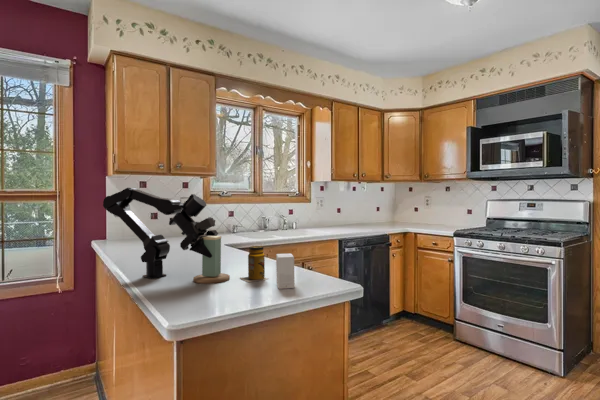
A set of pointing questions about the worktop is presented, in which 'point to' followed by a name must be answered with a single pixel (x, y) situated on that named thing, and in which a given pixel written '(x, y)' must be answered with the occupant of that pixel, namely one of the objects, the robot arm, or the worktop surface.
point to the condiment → (255, 264)
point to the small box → (285, 271)
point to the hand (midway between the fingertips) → (214, 255)
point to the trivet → (211, 279)
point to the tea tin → (214, 263)
